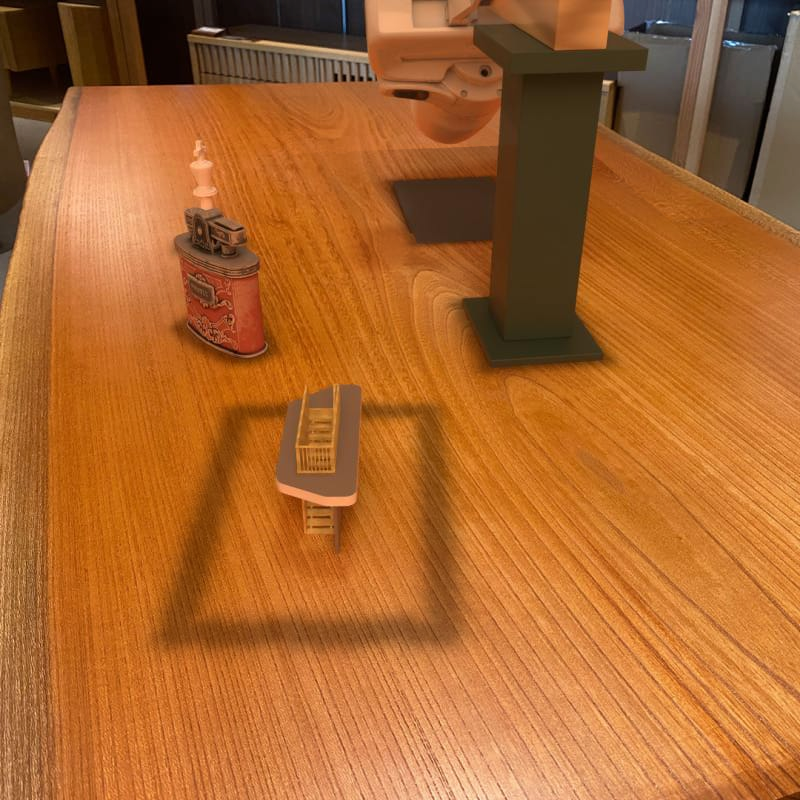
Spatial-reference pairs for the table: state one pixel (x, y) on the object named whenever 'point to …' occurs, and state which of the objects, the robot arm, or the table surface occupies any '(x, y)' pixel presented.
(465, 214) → the mat
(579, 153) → the stand
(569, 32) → the ash bar
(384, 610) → the table surface
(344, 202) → the table surface
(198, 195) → the chess piece
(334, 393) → the platform
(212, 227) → the lighter
